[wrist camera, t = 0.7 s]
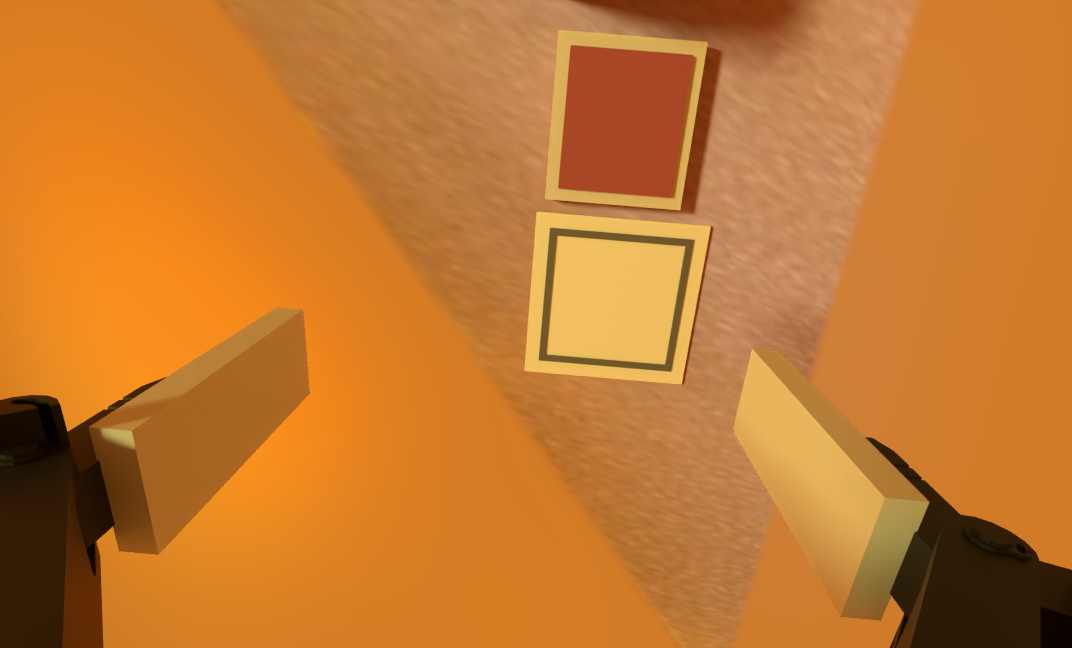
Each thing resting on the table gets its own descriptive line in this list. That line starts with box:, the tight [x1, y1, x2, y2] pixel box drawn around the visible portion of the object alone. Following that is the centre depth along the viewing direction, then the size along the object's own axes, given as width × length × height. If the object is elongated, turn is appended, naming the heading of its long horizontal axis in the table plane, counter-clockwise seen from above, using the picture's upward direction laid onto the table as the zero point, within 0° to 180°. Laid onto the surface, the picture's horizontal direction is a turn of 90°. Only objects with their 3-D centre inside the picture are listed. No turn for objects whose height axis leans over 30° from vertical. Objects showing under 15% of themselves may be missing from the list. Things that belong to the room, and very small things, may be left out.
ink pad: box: [545, 30, 708, 210], centre depth 34 cm, size 10×9×2 cm
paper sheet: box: [525, 211, 711, 384], centre depth 38 cm, size 12×12×1 cm
